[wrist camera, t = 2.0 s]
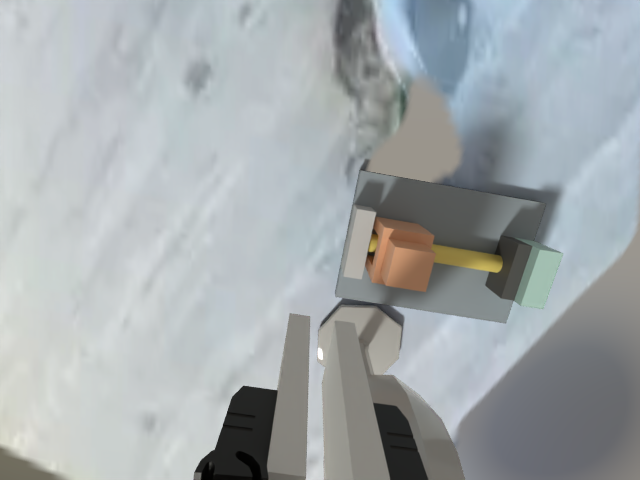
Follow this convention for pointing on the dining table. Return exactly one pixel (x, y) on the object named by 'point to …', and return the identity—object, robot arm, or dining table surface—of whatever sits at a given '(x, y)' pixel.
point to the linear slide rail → (452, 248)
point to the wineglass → (395, 385)
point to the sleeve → (401, 255)
